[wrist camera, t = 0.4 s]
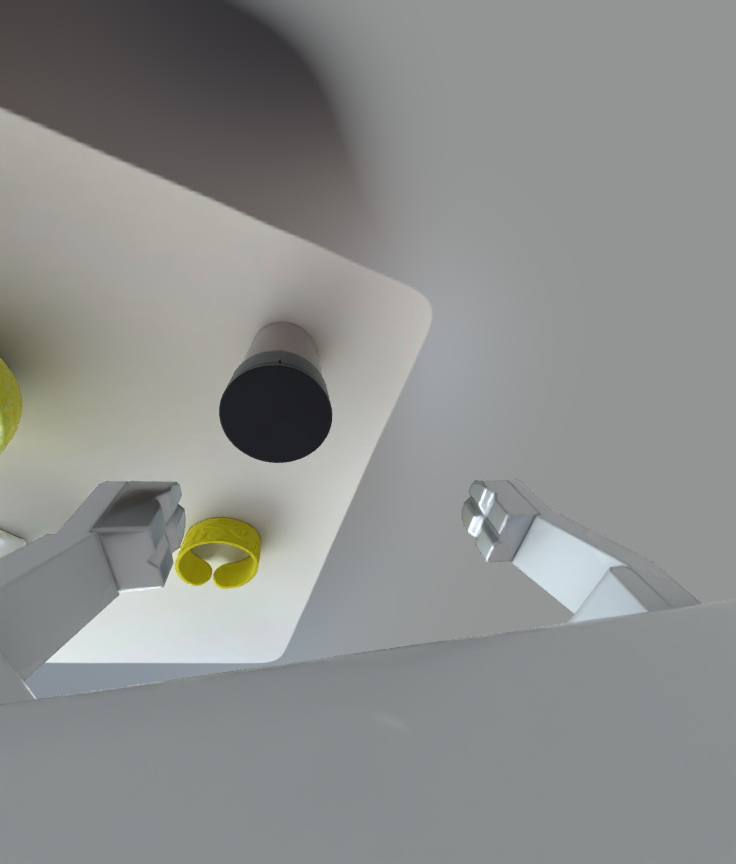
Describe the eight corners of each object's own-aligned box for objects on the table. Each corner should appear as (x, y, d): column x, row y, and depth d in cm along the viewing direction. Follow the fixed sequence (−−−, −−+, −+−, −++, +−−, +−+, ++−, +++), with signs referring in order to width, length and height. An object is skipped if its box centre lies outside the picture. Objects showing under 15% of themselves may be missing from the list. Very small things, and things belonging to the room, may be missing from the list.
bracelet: (190, 511, 32) (180, 535, 29) (269, 523, 35) (266, 546, 32) (179, 560, 35) (169, 586, 32) (252, 567, 38) (249, 592, 35)
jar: (250, 317, 24) (220, 359, 15) (319, 326, 26) (334, 369, 16) (251, 382, 27) (226, 455, 17) (314, 387, 28) (324, 457, 18)
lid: (226, 343, 16) (214, 357, 14) (332, 353, 18) (337, 369, 15) (231, 436, 19) (222, 462, 17) (323, 439, 21) (327, 463, 18)
